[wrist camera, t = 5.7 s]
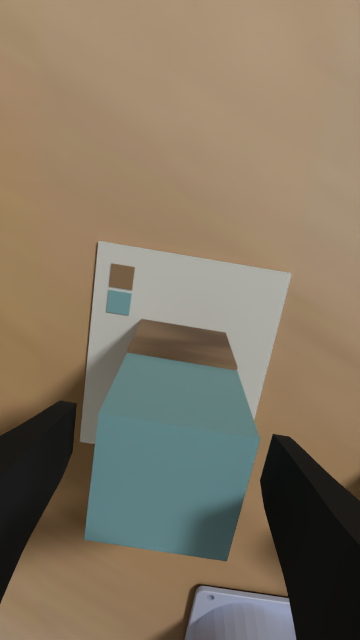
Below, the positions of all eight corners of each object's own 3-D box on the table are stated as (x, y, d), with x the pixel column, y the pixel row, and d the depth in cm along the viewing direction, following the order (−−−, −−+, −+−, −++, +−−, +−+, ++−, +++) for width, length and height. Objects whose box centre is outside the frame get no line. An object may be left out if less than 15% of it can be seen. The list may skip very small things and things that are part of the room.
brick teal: (237, 370, 14) (260, 439, 10) (215, 463, 15) (226, 561, 11) (127, 352, 14) (98, 413, 9) (114, 447, 15) (83, 539, 11)
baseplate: (290, 273, 18) (292, 273, 17) (241, 464, 21) (242, 468, 21) (99, 240, 17) (98, 241, 17) (80, 439, 21) (79, 442, 20)
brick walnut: (225, 332, 18) (237, 367, 14) (209, 406, 20) (216, 460, 15) (141, 318, 18) (127, 349, 14) (131, 394, 20) (114, 444, 15)
